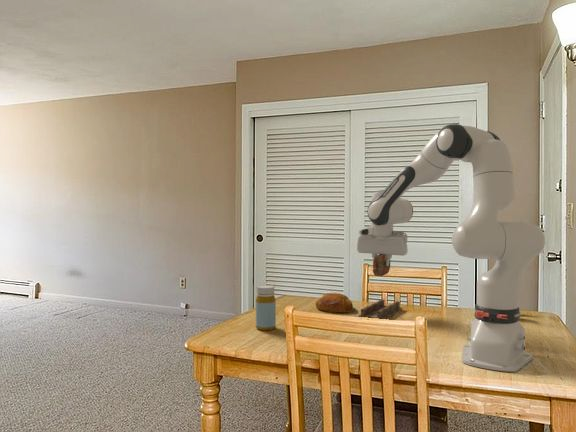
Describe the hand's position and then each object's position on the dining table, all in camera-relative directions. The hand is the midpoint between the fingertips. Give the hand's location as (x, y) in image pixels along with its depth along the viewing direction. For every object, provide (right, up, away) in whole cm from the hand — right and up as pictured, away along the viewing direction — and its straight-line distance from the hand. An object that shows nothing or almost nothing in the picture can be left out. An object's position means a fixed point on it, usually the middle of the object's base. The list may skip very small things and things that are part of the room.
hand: (381, 265), depth 186 cm
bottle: (-46, -21, -20) cm, 54 cm away
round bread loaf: (-18, -20, +9) cm, 28 cm away
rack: (0, -20, 0) cm, 20 cm away
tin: (0, -4, 0) cm, 4 cm away
